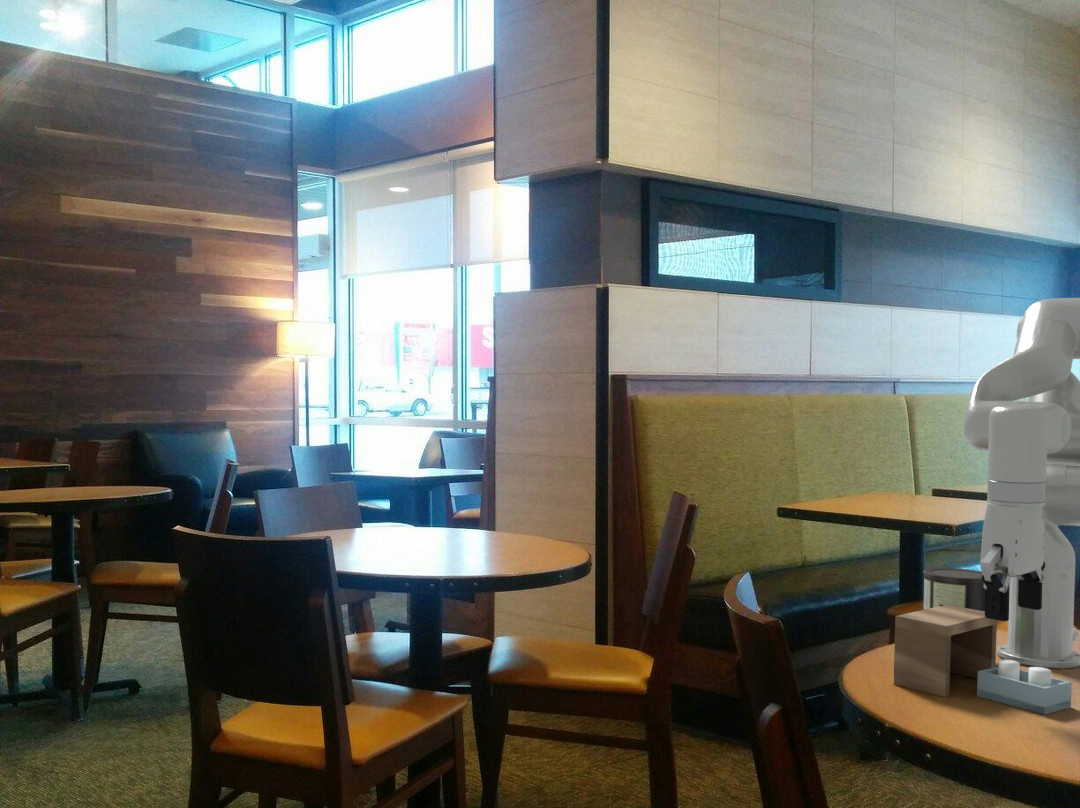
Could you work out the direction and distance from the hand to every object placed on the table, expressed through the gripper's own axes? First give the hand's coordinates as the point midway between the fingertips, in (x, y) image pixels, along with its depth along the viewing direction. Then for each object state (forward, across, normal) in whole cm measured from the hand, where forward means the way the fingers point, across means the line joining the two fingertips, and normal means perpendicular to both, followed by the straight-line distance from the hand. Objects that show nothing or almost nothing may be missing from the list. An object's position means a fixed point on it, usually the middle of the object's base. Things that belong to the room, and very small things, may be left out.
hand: (1013, 613), depth 151 cm
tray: (+12, +1, +2) cm, 12 cm away
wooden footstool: (+12, +1, -9) cm, 15 cm away
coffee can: (+13, -13, -15) cm, 24 cm away
